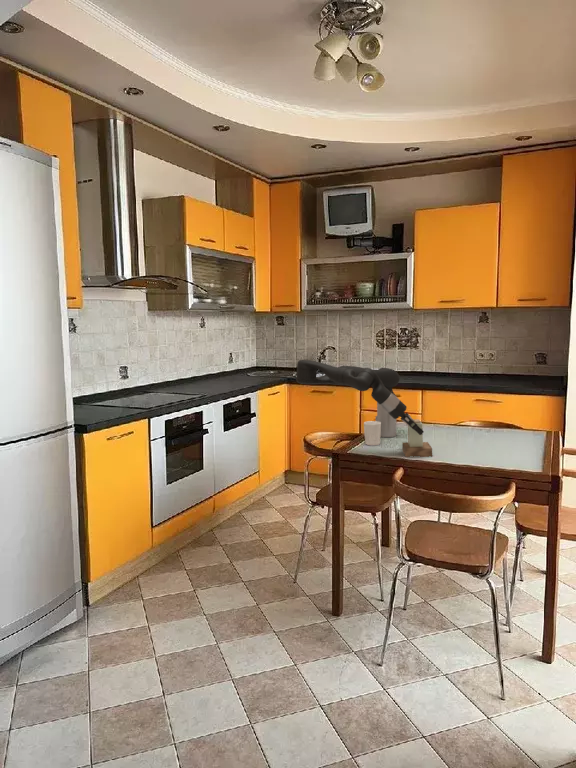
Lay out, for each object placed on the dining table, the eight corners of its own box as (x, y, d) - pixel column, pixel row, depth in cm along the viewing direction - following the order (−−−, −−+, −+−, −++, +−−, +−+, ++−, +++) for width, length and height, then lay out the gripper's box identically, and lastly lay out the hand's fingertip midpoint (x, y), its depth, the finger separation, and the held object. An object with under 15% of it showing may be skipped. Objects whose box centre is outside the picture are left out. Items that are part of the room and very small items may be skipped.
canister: (410, 447, 243) (409, 422, 241) (407, 443, 248) (407, 419, 246) (422, 446, 242) (422, 421, 241) (420, 443, 248) (419, 419, 246)
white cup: (364, 445, 261) (363, 424, 260) (364, 441, 269) (363, 421, 268) (381, 445, 260) (381, 424, 259) (381, 441, 268) (380, 420, 267)
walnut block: (405, 457, 241) (405, 448, 240) (402, 451, 252) (402, 442, 251) (432, 457, 240) (432, 448, 239) (427, 450, 251) (427, 442, 250)
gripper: (384, 408, 250) (410, 433, 252) (389, 415, 236) (417, 441, 238) (396, 396, 250) (422, 421, 251) (402, 402, 235) (430, 428, 237)
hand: (419, 431), depth 244 cm, fingers open, 8 cm apart
